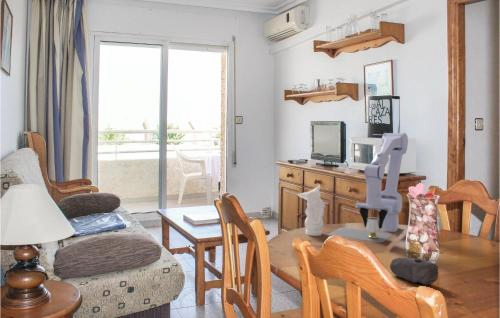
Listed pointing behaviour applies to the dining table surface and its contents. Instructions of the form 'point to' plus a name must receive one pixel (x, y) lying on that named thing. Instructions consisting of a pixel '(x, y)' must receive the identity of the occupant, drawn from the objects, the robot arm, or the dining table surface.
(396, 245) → the dining table surface
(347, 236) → the post board
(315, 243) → the dining table surface
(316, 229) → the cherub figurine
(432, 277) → the perforated stone tool
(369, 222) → the steel collar
